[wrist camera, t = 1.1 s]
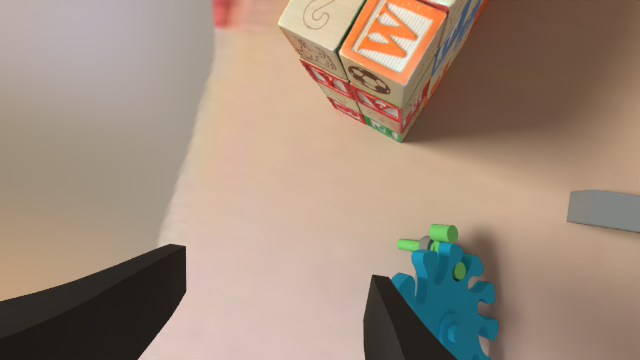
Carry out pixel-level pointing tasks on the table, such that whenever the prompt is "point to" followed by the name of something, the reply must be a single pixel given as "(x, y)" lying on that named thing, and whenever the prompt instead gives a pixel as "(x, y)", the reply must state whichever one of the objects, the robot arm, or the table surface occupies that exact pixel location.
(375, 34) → the stack of blocks
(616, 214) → the gear frame
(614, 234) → the table surface
